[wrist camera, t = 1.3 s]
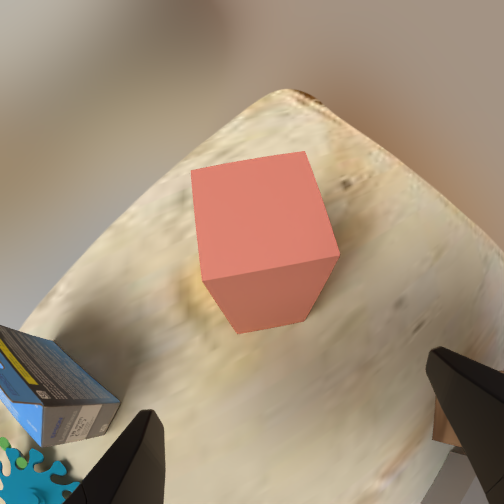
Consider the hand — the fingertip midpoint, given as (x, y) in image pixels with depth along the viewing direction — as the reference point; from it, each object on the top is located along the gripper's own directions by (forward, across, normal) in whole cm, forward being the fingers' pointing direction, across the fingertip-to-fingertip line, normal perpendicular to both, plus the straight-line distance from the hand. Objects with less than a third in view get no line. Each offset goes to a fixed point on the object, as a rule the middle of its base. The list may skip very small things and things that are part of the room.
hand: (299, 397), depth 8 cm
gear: (+4, +22, +15) cm, 27 cm away
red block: (+14, 0, +4) cm, 15 cm away
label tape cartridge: (+11, +17, +8) cm, 22 cm away
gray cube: (0, -13, +19) cm, 23 cm away
